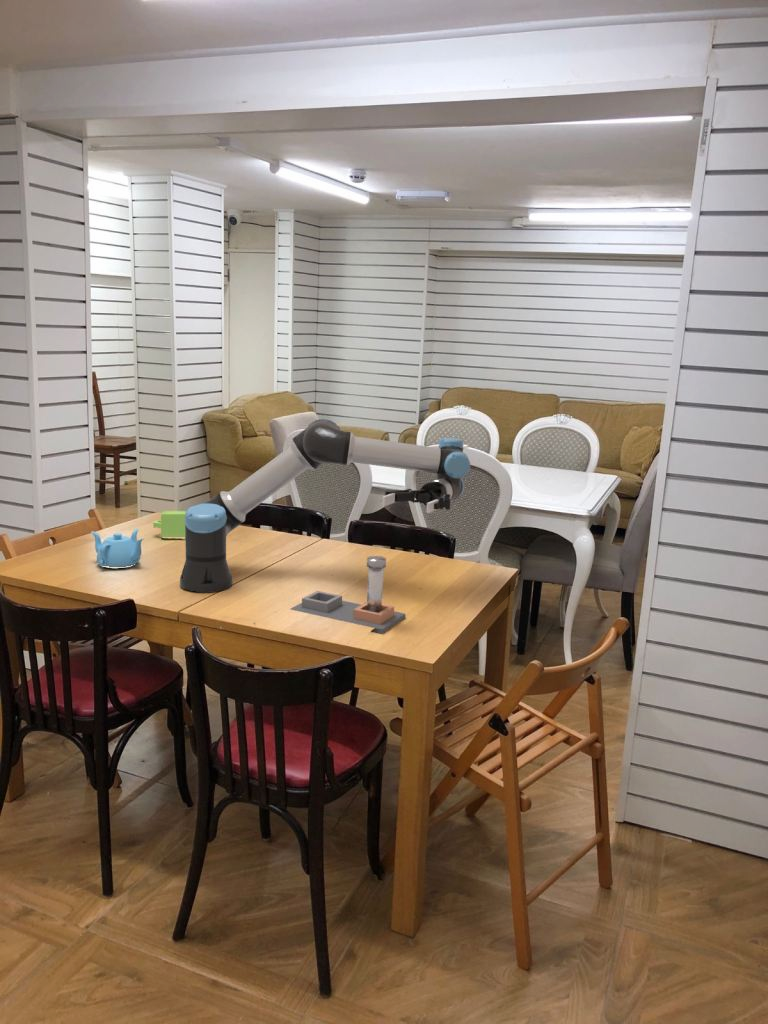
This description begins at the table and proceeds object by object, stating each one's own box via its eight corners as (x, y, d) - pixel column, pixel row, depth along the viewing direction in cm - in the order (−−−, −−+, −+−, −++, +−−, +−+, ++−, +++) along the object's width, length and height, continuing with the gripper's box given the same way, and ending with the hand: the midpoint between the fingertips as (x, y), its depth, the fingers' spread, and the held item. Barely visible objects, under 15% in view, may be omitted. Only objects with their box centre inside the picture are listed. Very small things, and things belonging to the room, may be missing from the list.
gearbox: (204, 534, 291) (205, 509, 290) (204, 540, 282) (204, 514, 280) (154, 534, 288) (154, 508, 286) (152, 539, 278) (152, 513, 277)
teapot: (95, 573, 238) (94, 541, 236) (91, 560, 251) (90, 529, 249) (145, 569, 244) (144, 537, 242) (139, 556, 257) (138, 526, 255)
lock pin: (360, 617, 205) (363, 559, 202) (369, 612, 210) (372, 555, 206) (377, 621, 203) (380, 562, 200) (386, 616, 208) (389, 558, 204)
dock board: (289, 613, 210) (289, 600, 209) (316, 599, 222) (316, 586, 222) (381, 633, 198) (382, 620, 197) (405, 617, 210) (405, 604, 209)
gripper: (473, 511, 229) (446, 524, 210) (397, 500, 240) (364, 511, 221) (475, 486, 227) (448, 497, 209) (398, 476, 238) (366, 485, 219)
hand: (405, 504), depth 215 cm, fingers open, 13 cm apart
